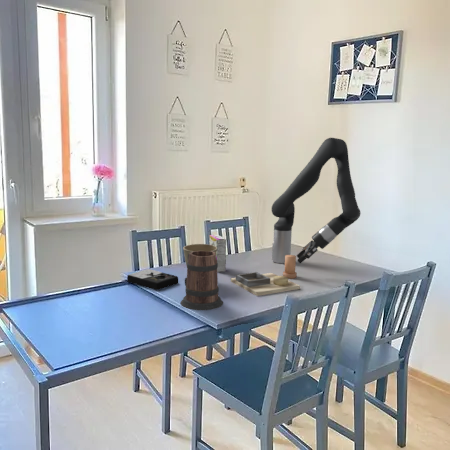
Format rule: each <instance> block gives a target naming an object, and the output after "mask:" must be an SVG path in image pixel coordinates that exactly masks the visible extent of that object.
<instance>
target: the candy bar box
mask: <svg viewBox="0 0 450 450" xmlns="http://www.w3.org/2000/svg"><path fill="white" fill-rule="evenodd" d="M208 242H209V243H208V245H213V246H216V247H217V252H216V260H217V263H218V268H217V273H223V272H226V271H227V270H226V267H227V263H226V262H227V259H226V258H227V253H226V252H227V239H226V238H224V237H223V236H221V235H220V234H209V241H208Z"/></svg>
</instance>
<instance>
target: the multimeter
mask: <svg viewBox="0 0 450 450" xmlns="http://www.w3.org/2000/svg"><path fill="white" fill-rule="evenodd" d="M126 280H127V283H130V284H134V285H137V286H141V287H144V288H147V289H151V290H155V291H160V290H163V289H166V288H168V287H172V286H174V285H178V284H179V276H177V275H174V274H170V273H166V272H162V271H158V270H154V269H150V268H148V269H143V270H139V271H136V272H133V273H129V274H128V275H127V278H126Z"/></svg>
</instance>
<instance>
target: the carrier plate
mask: <svg viewBox="0 0 450 450" xmlns="http://www.w3.org/2000/svg"><path fill="white" fill-rule="evenodd" d="M230 282H231V283H233V284H234V285H236V286H238V287H240V288H241V289H244V290H245V291H247V292H249V293H251V294H253V295H254V296H256V297H259V296H265V295H271V294H276V293H283V292H290V291H294V290H295V291H296V290H301V285H299V284H297V283H296V282H293V281H290V279H288V278H287V277H285V276H283V275H277V274H275V273H273V272H268V273H260V272H257V271H255V272H248V273H240V274H239V273H238V274H235V277H231V278H230Z"/></svg>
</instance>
